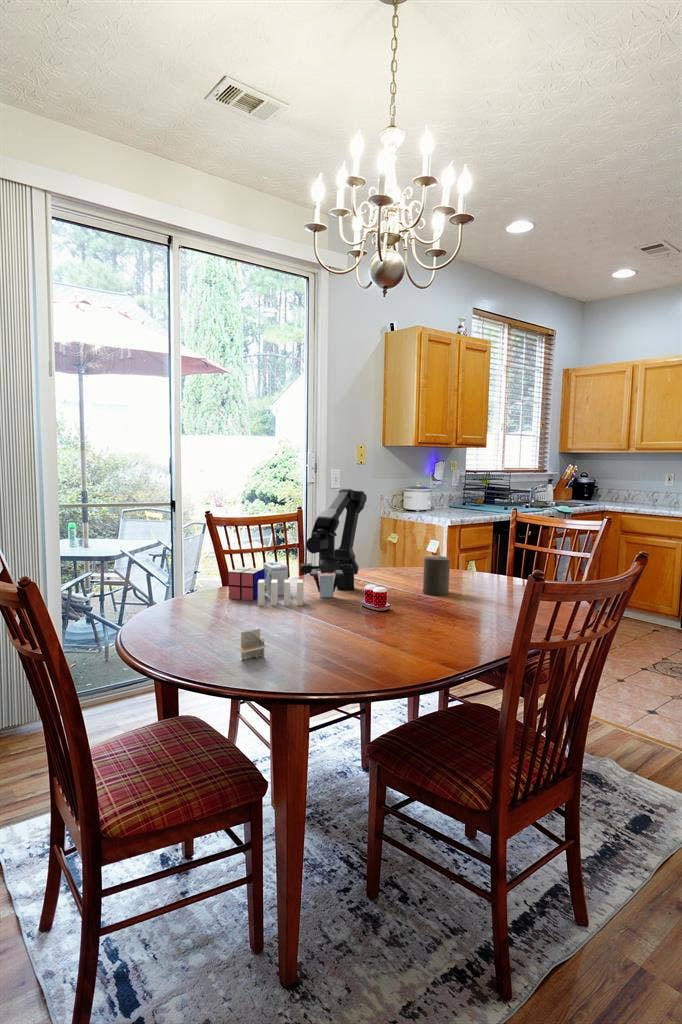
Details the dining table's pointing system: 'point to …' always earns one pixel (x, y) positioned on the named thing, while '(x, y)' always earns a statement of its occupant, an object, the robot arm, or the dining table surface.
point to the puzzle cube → (245, 583)
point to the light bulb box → (275, 576)
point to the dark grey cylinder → (436, 575)
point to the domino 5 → (326, 585)
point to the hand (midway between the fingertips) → (326, 591)
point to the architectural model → (251, 644)
